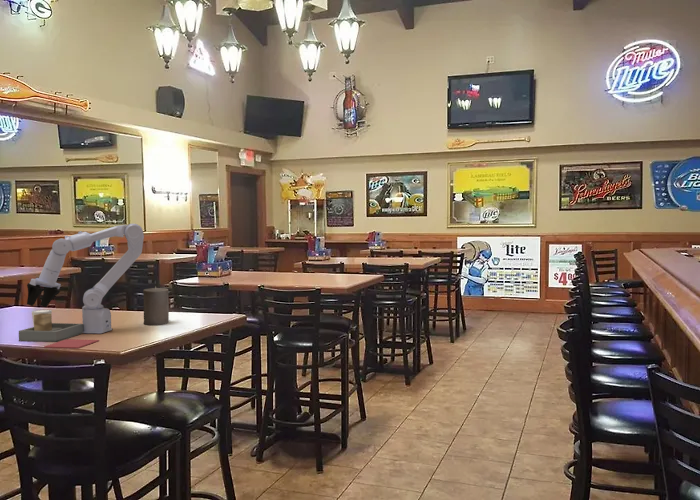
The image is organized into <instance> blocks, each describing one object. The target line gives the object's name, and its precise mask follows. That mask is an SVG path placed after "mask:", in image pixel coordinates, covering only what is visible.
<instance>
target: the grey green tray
mask: <svg viewBox="0 0 700 500" xmlns="http://www.w3.org/2000/svg"><path fill="white" fill-rule="evenodd" d="M82 332H84V324H83V323H74V322H73V323H68V322H67V323H63V322H52V330H51V331H34V326H32V327H28V328H24V329H21V330H18V342H45V343H48V342H49V343H50V342H51V343H56V342H60V341H63V340H66V339H70V338H72V337H76V336H79V334H80V335H82Z"/></svg>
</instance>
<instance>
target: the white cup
mask: <svg viewBox="0 0 700 500" xmlns="http://www.w3.org/2000/svg"><path fill="white" fill-rule="evenodd" d="M52 311H53V310H51V309H37V310H33V311H31V315H32V322H33V323H32V324H33V326H34V315H37V314H41V313H42V314H51V315H52Z"/></svg>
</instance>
